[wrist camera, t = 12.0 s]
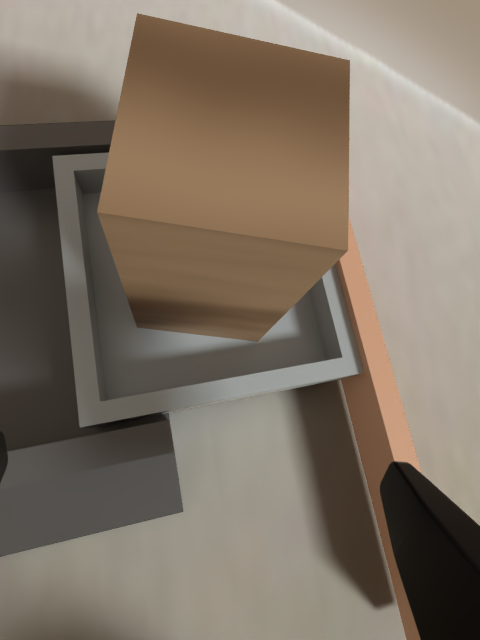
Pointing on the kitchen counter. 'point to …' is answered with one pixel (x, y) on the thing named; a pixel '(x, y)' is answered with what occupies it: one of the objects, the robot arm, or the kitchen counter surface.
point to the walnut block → (225, 178)
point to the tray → (225, 348)
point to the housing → (60, 371)
